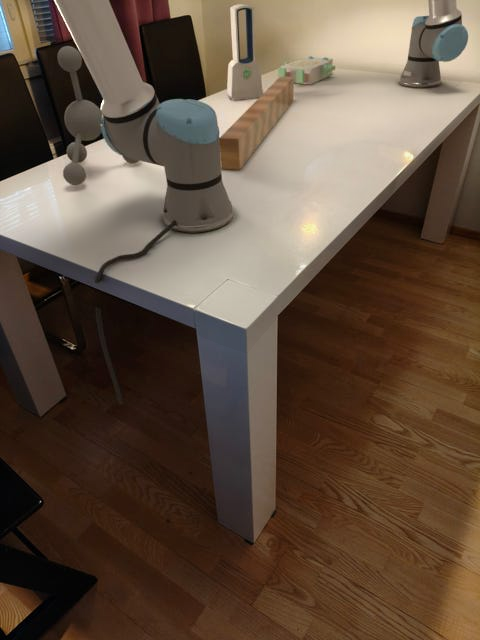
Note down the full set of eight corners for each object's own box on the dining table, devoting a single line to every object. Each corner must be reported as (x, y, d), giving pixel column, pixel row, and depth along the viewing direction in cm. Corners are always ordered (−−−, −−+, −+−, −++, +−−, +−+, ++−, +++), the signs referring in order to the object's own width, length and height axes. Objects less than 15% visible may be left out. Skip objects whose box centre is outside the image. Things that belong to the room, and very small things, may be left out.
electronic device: (231, 100, 184) (226, 7, 166) (227, 96, 190) (221, 5, 172) (263, 96, 187) (261, 4, 168) (257, 92, 192) (255, 2, 174)
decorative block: (301, 54, 217) (341, 57, 207) (300, 70, 221) (340, 74, 211) (269, 65, 201) (312, 69, 191) (269, 82, 205) (311, 87, 195)
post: (239, 170, 129) (238, 139, 124) (221, 168, 130) (219, 138, 125) (293, 100, 181) (293, 76, 176) (279, 100, 183) (279, 76, 178)
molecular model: (153, 175, 128) (132, 46, 109) (67, 191, 122) (30, 58, 104) (135, 149, 145) (114, 34, 127) (59, 162, 140) (26, 43, 121)
